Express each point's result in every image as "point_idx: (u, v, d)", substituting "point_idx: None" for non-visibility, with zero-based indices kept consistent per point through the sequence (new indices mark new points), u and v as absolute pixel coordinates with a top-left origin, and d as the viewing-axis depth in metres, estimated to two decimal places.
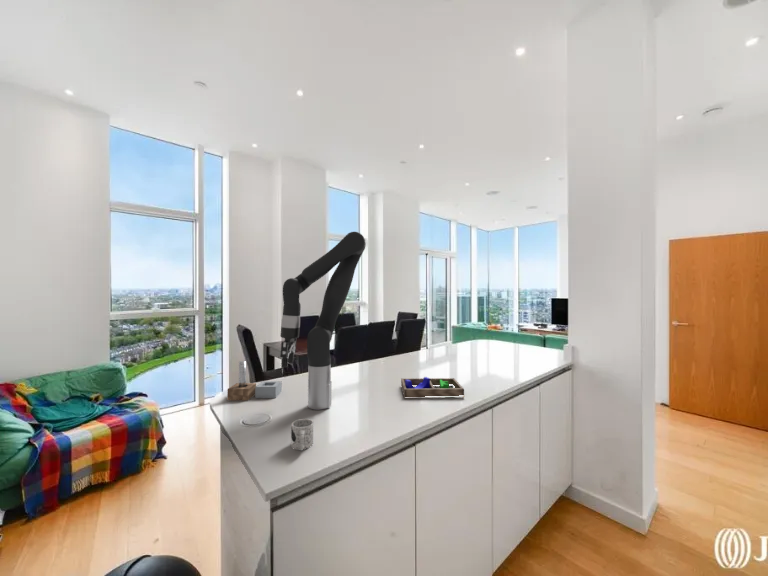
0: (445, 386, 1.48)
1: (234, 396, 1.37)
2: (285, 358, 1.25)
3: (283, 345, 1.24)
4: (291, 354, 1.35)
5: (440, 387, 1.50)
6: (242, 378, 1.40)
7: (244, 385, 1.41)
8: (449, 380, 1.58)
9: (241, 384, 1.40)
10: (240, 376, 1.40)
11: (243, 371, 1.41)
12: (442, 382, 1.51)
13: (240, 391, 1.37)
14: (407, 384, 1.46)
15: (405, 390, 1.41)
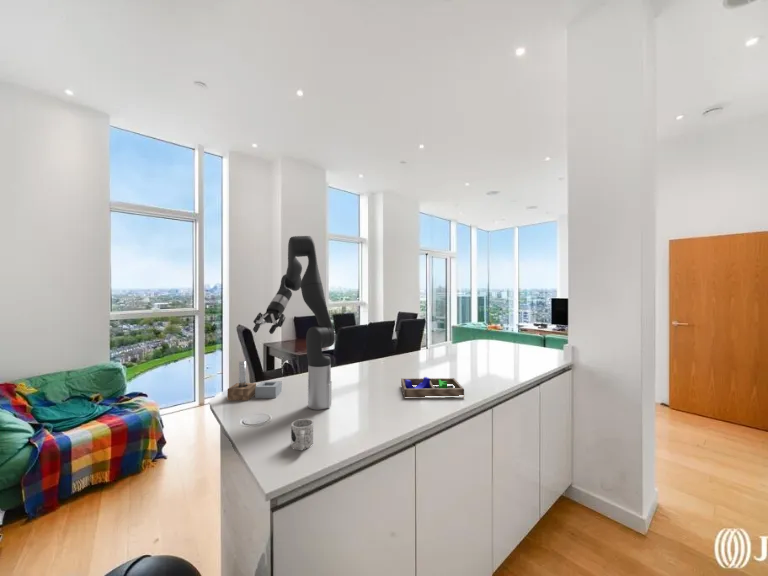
0: (444, 386, 1.48)
1: (234, 396, 1.37)
2: (256, 324, 1.47)
3: None
4: None
5: None
6: (242, 378, 1.40)
7: (244, 385, 1.41)
8: (449, 380, 1.58)
9: (241, 384, 1.40)
10: (240, 376, 1.40)
11: (243, 371, 1.41)
12: (441, 382, 1.51)
13: (240, 391, 1.37)
14: (407, 384, 1.46)
15: (405, 390, 1.41)
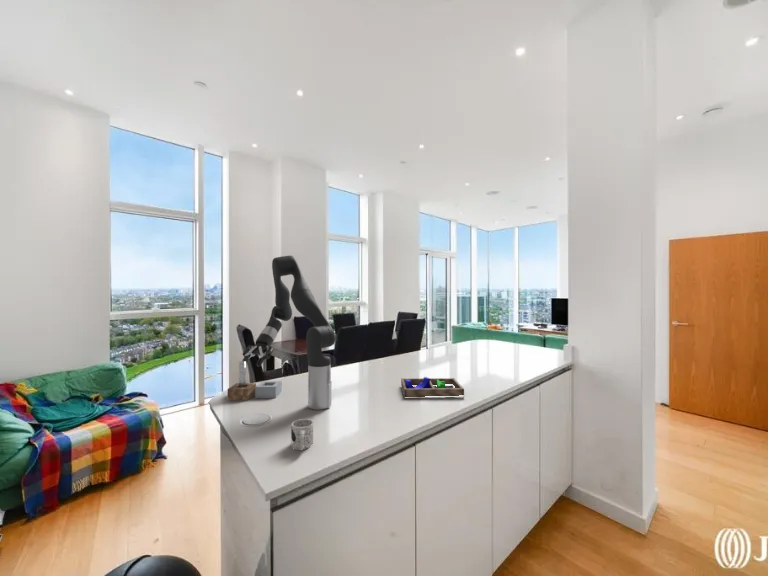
0: (442, 386, 1.48)
1: (234, 396, 1.37)
2: (244, 357, 1.51)
3: None
4: None
5: None
6: (242, 378, 1.40)
7: (244, 385, 1.41)
8: (449, 380, 1.58)
9: (241, 384, 1.40)
10: (240, 376, 1.40)
11: (243, 371, 1.41)
12: (439, 382, 1.51)
13: (240, 391, 1.37)
14: (407, 384, 1.46)
15: (405, 390, 1.41)
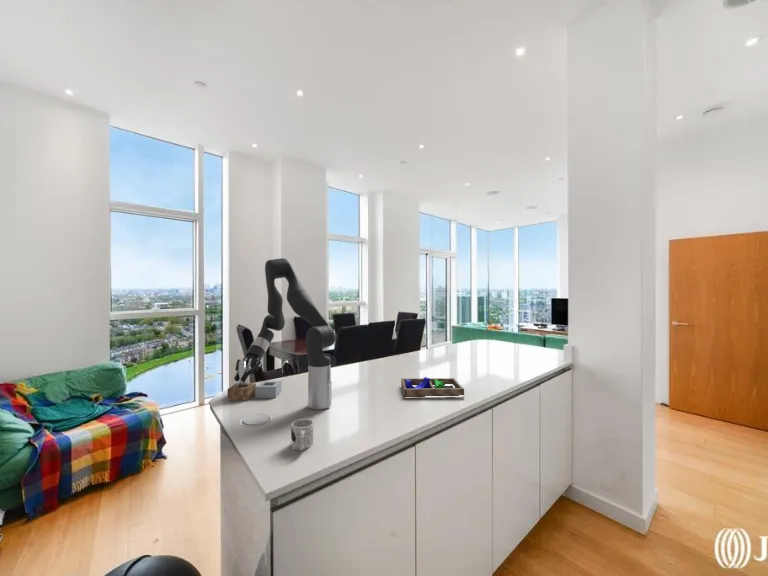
0: (440, 386, 1.48)
1: (234, 396, 1.37)
2: None
3: None
4: None
5: (435, 387, 1.50)
6: None
7: (244, 385, 1.41)
8: (449, 380, 1.58)
9: (241, 384, 1.40)
10: (240, 376, 1.40)
11: (243, 371, 1.41)
12: (437, 382, 1.51)
13: (240, 391, 1.37)
14: (407, 384, 1.46)
15: (405, 390, 1.41)
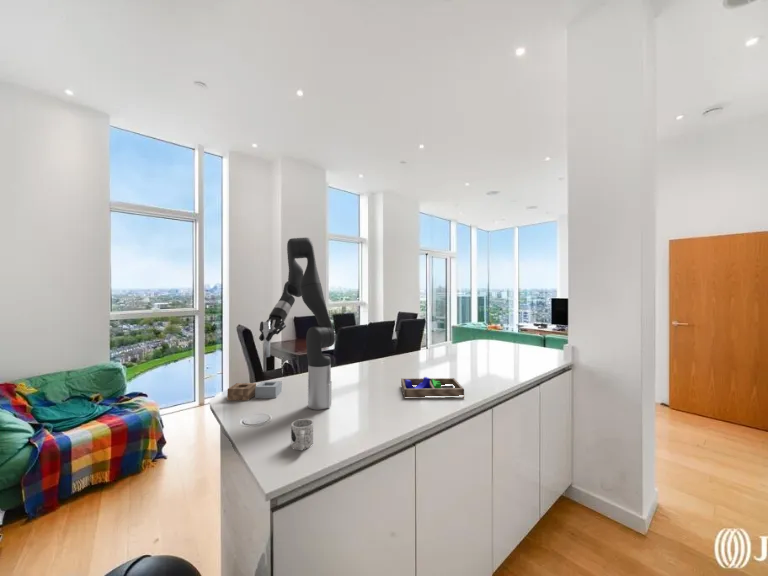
0: (438, 386, 1.48)
1: (234, 396, 1.37)
2: (262, 332, 1.46)
3: None
4: None
5: None
6: None
7: (269, 345, 1.44)
8: (449, 380, 1.58)
9: (266, 343, 1.43)
10: (265, 336, 1.43)
11: (268, 331, 1.44)
12: (434, 382, 1.51)
13: (240, 391, 1.37)
14: (407, 384, 1.46)
15: (405, 390, 1.41)
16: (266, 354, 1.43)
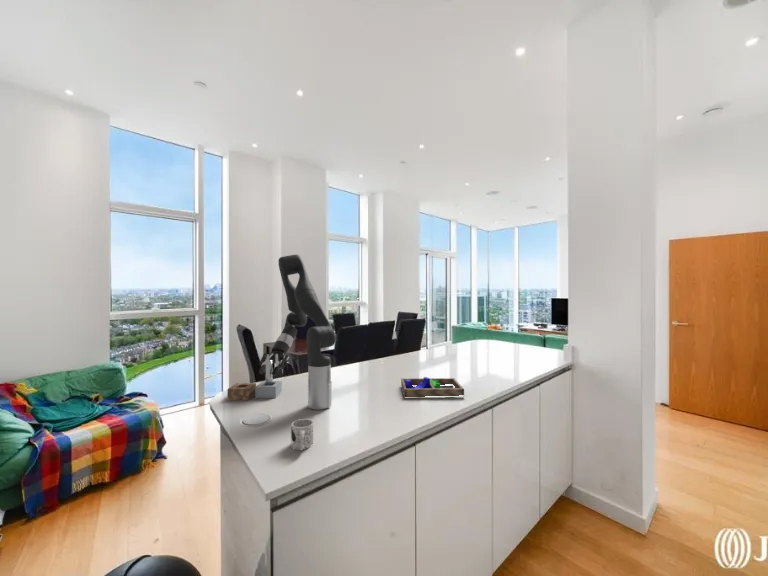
0: (437, 385, 1.48)
1: (234, 396, 1.37)
2: (262, 365, 1.47)
3: None
4: None
5: None
6: (269, 376, 1.44)
7: (271, 383, 1.45)
8: (449, 380, 1.58)
9: (268, 382, 1.44)
10: (267, 374, 1.44)
11: (270, 369, 1.44)
12: (433, 382, 1.51)
13: (240, 391, 1.37)
14: (407, 384, 1.46)
15: (405, 390, 1.41)
16: None
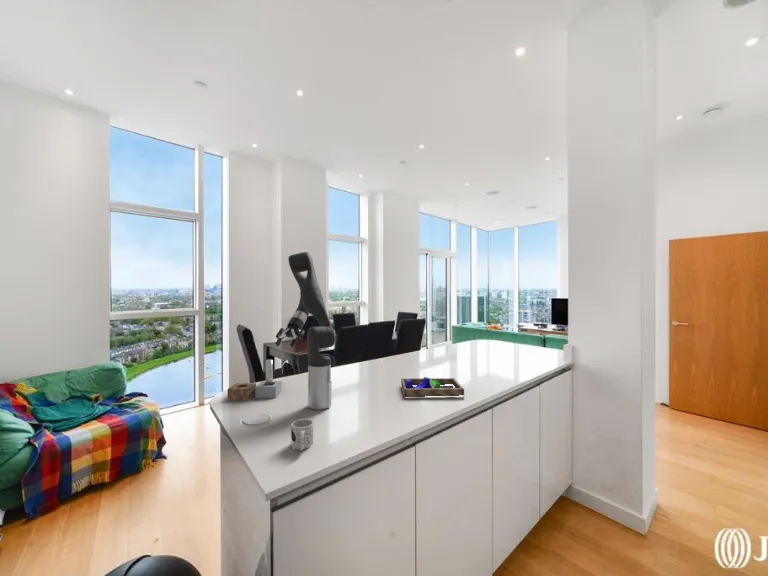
0: (437, 386, 1.48)
1: (234, 396, 1.37)
2: (278, 338, 1.60)
3: None
4: None
5: None
6: (269, 377, 1.44)
7: (271, 383, 1.45)
8: (449, 380, 1.58)
9: (268, 382, 1.44)
10: (267, 374, 1.44)
11: (270, 369, 1.44)
12: (433, 382, 1.51)
13: (240, 391, 1.37)
14: (407, 384, 1.46)
15: (405, 390, 1.41)
16: None
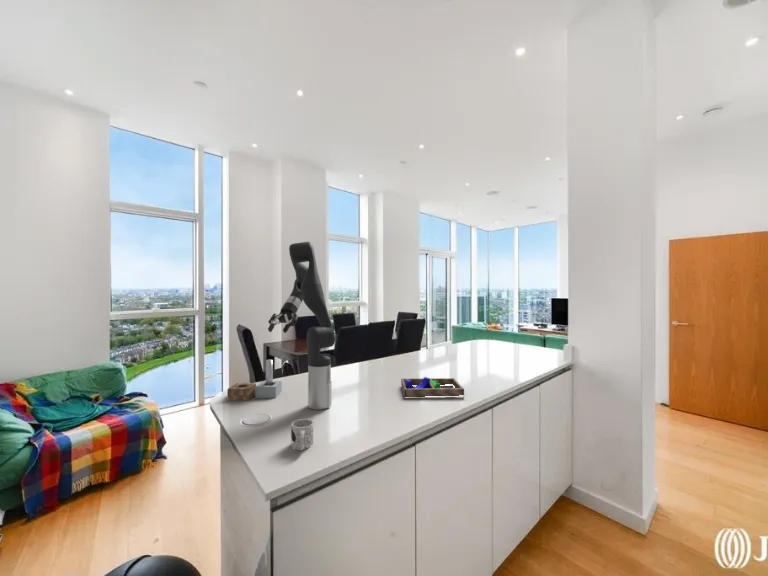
0: (437, 386, 1.48)
1: (234, 396, 1.37)
2: None
3: None
4: None
5: None
6: (269, 377, 1.44)
7: (271, 383, 1.45)
8: (449, 380, 1.58)
9: (268, 382, 1.44)
10: (267, 374, 1.44)
11: (270, 369, 1.44)
12: (433, 382, 1.51)
13: (240, 391, 1.37)
14: (407, 384, 1.46)
15: (405, 390, 1.41)
16: None
